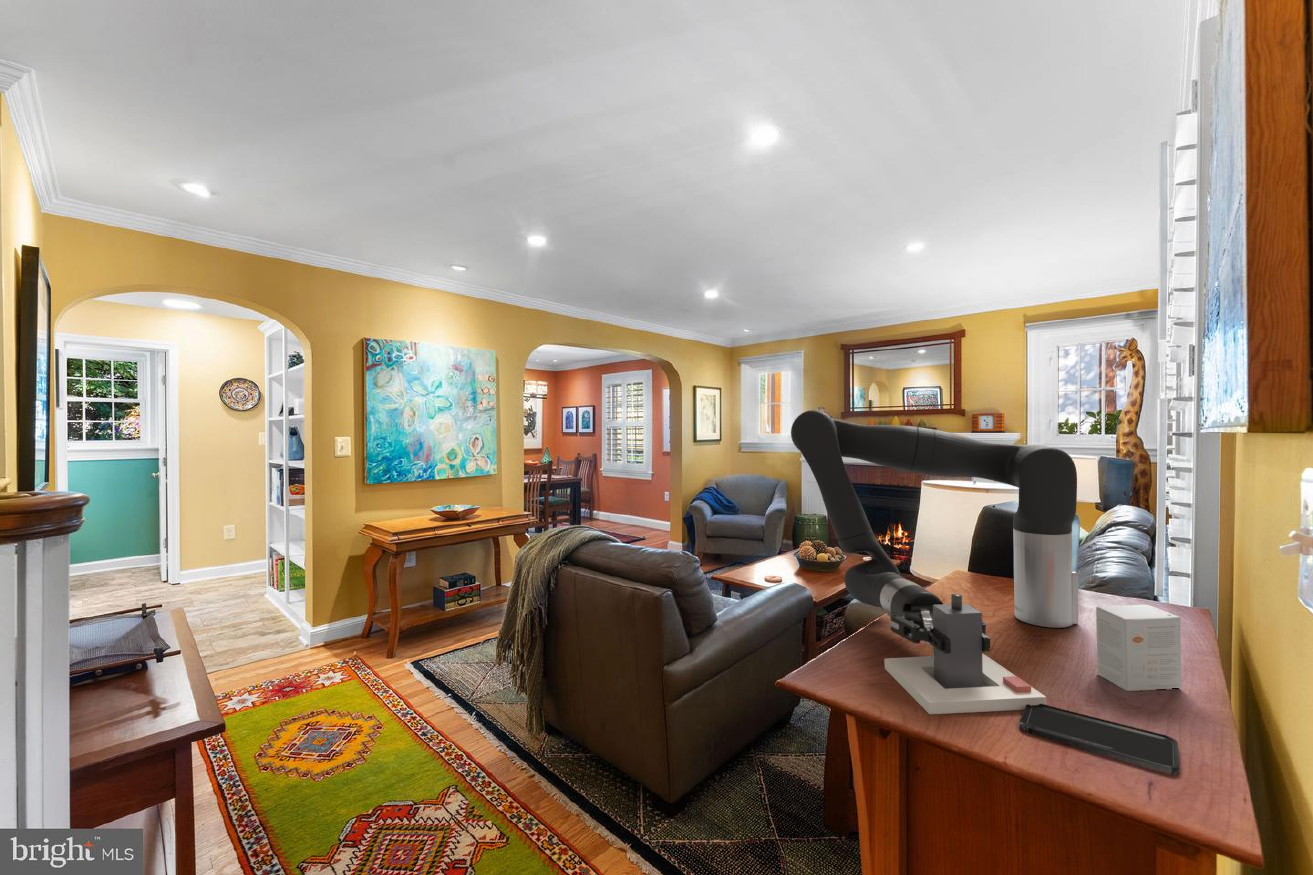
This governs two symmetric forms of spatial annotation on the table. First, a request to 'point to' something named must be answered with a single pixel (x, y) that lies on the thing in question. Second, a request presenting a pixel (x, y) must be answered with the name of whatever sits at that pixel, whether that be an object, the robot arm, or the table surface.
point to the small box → (1138, 647)
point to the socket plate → (936, 699)
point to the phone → (1102, 737)
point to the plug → (959, 644)
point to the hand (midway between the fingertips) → (967, 645)
